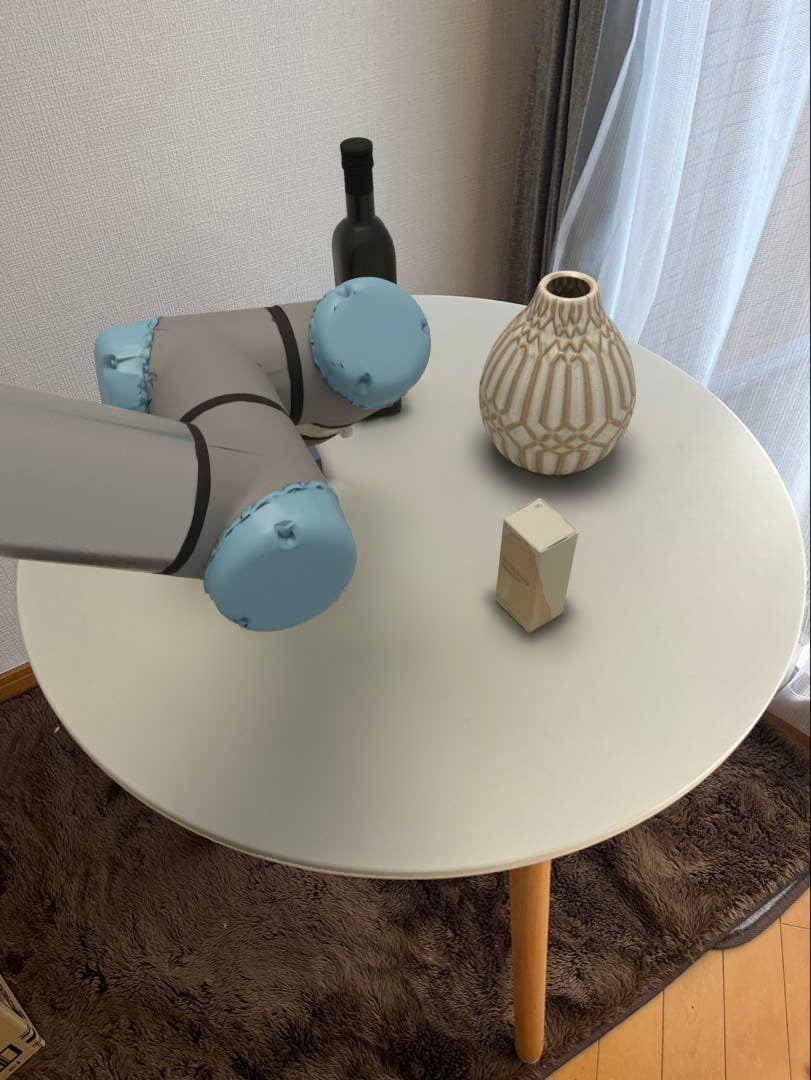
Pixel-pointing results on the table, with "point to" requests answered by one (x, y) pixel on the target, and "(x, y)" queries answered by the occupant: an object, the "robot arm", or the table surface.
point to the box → (535, 564)
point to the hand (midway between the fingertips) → (257, 436)
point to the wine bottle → (362, 230)
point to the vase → (558, 380)
